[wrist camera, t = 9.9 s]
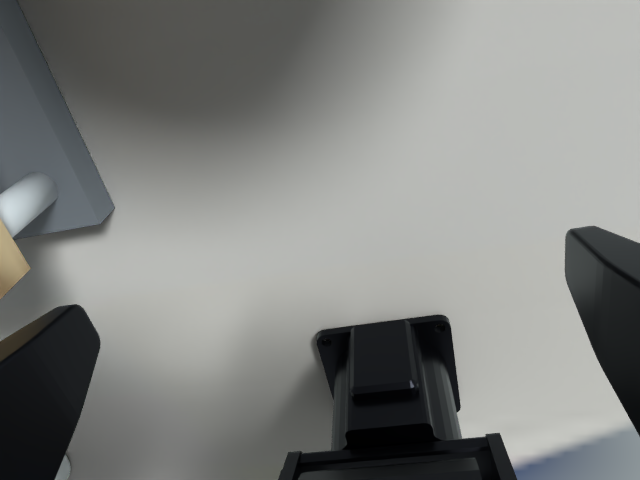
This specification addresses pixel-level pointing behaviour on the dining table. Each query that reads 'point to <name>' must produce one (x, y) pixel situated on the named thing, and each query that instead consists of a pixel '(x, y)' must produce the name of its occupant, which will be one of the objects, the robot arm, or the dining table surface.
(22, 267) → the oak plank
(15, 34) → the peg stand
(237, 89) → the dining table surface
